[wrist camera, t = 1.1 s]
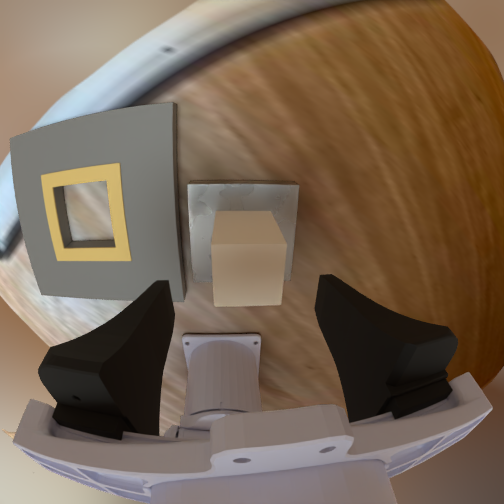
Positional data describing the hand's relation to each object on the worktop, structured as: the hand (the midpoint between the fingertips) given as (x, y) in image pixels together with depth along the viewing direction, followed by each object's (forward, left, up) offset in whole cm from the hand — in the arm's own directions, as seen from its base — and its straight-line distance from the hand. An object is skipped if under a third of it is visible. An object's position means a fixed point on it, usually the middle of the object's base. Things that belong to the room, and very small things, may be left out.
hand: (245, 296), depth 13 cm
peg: (0, 0, -8) cm, 8 cm away
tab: (0, 0, -10) cm, 10 cm away
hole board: (+2, +13, -10) cm, 16 cm away
